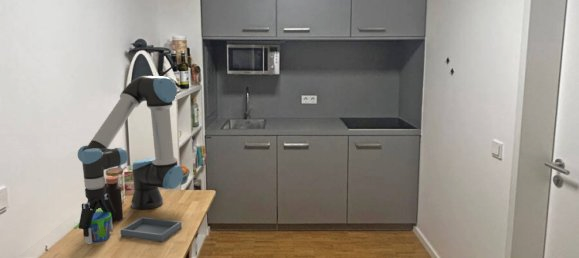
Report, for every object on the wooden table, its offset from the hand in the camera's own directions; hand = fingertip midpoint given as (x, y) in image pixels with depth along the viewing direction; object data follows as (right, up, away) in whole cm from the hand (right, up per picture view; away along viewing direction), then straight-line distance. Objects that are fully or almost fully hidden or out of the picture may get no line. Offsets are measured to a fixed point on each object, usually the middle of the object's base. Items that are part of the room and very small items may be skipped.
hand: (99, 237), depth 187 cm
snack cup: (0, -1, 0) cm, 1 cm away
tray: (+20, +1, +6) cm, 21 cm away
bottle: (-2, +3, +21) cm, 22 cm away
